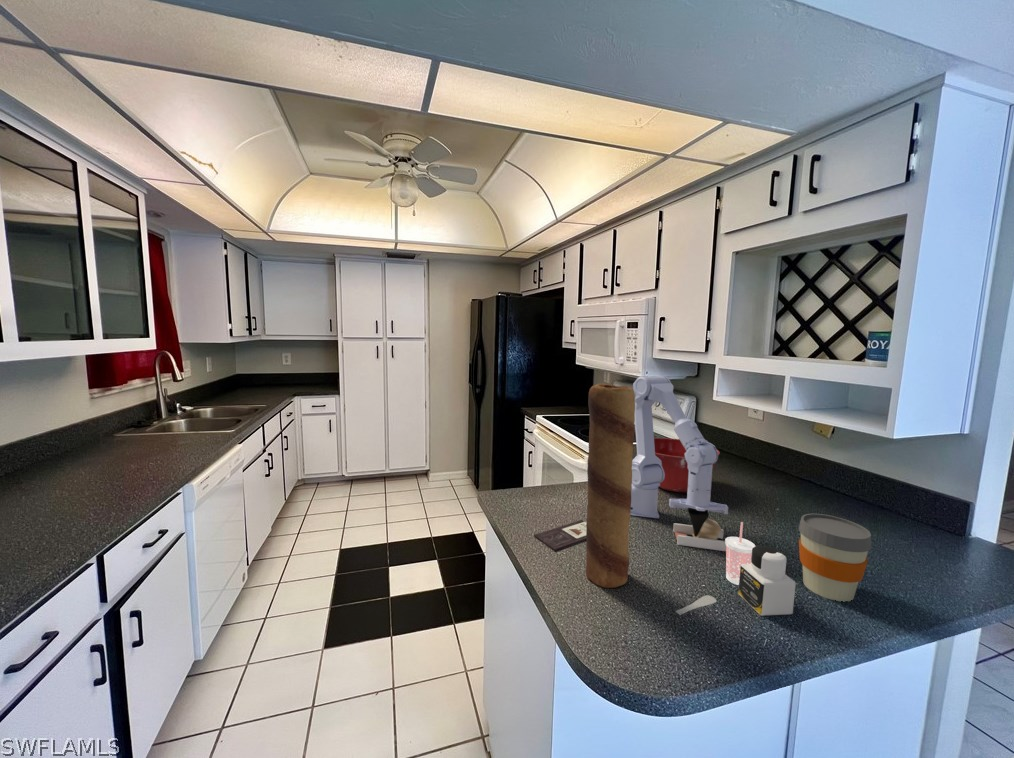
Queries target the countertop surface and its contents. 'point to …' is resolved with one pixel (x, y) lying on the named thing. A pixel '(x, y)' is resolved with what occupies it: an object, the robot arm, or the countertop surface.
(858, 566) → the reusable coffee cup
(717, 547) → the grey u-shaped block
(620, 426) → the wafer roll
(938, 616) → the countertop surface
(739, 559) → the beverage cup
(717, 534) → the maple block
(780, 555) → the medicine bottle
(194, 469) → the countertop surface
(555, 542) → the chocolate bar
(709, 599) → the grey flat paddle piece
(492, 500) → the countertop surface
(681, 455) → the mixing bowl
